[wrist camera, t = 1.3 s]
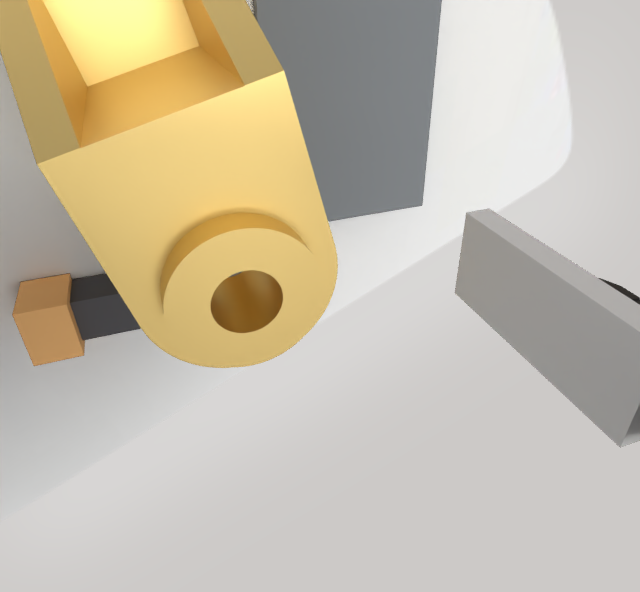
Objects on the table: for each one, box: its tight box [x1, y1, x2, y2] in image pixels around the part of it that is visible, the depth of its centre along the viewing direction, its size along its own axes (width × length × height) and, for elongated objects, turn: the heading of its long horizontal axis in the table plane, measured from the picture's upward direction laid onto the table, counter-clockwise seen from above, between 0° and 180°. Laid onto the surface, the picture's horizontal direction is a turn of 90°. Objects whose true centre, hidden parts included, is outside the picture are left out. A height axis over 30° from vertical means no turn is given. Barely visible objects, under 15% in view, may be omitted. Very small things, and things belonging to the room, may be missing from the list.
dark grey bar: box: [12, 271, 243, 366], centre depth 36 cm, size 17×4×4 cm, turn 92°
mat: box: [253, 0, 442, 221], centre depth 34 cm, size 12×18×1 cm, turn 2°
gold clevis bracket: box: [0, 0, 338, 368], centre depth 25 cm, size 20×9×16 cm, turn 16°
